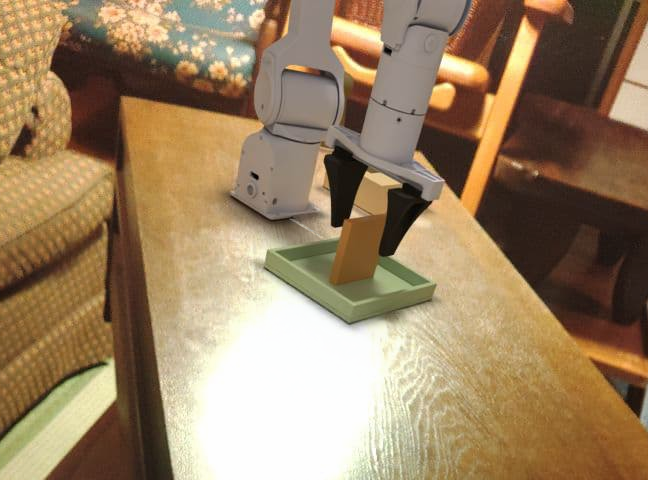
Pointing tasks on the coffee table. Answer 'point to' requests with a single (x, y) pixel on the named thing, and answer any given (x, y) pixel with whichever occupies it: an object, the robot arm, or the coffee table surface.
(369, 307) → the tray
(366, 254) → the toast
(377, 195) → the toaster
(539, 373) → the coffee table surface
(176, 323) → the coffee table surface
